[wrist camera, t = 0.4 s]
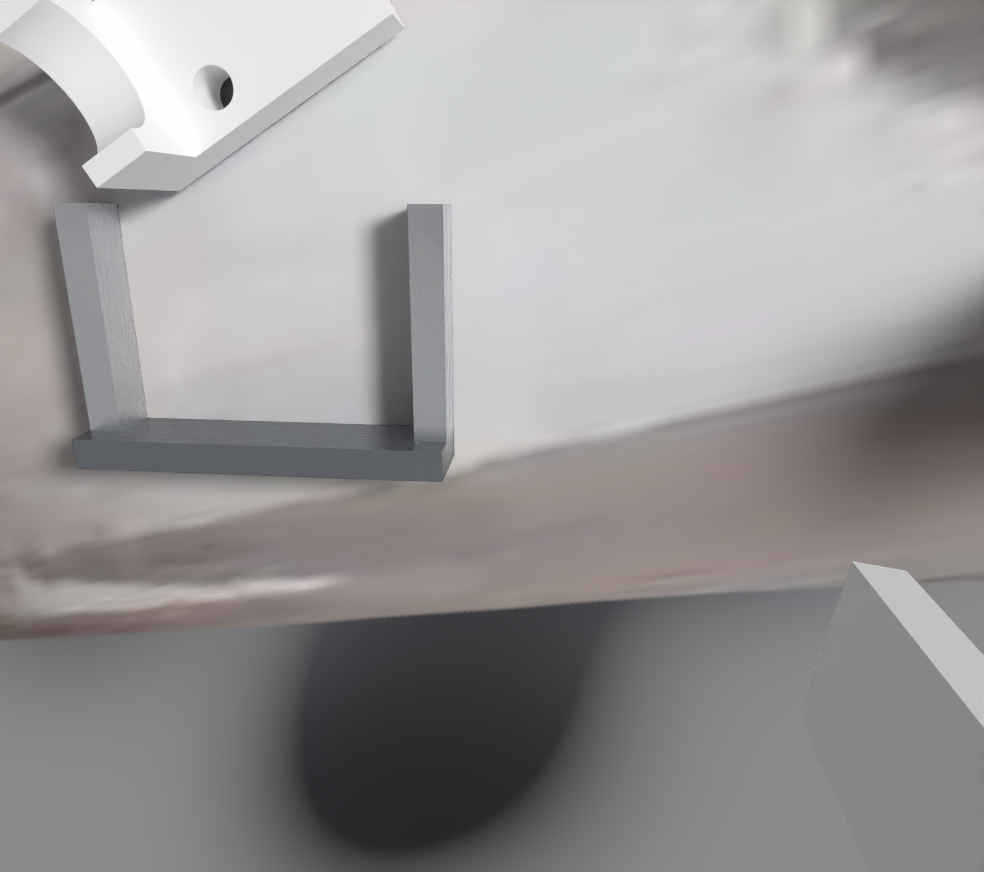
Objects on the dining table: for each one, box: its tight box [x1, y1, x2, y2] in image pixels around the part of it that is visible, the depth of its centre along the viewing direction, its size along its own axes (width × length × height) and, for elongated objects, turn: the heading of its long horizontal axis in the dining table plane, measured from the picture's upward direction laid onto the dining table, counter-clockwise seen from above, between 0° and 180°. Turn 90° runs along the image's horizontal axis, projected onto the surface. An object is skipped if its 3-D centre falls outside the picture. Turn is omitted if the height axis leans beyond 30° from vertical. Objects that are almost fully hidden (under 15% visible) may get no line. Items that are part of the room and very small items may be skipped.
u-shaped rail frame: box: [53, 203, 454, 482], centre depth 36 cm, size 12×18×4 cm
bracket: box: [0, 0, 405, 191], centre depth 30 cm, size 13×7×8 cm, turn 121°
